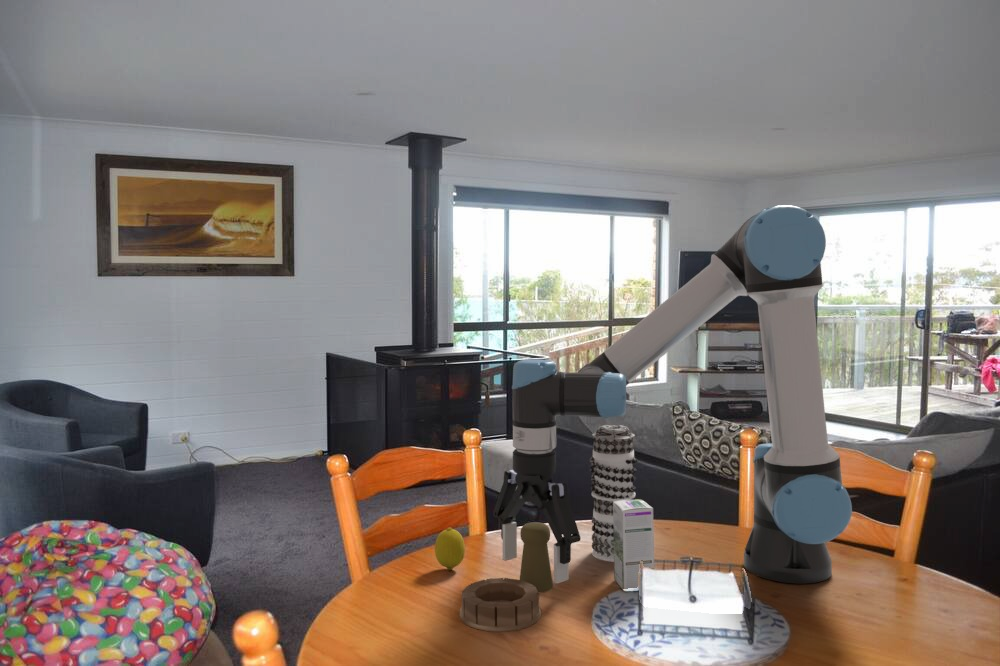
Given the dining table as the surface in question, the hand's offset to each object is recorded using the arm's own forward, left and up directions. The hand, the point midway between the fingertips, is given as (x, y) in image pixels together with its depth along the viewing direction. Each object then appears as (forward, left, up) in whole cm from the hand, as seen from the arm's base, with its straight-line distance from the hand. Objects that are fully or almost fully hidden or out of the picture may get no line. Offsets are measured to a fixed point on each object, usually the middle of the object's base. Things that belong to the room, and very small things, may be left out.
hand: (534, 569), depth 136 cm
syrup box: (-11, -13, -3) cm, 18 cm away
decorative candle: (+2, -22, -3) cm, 22 cm away
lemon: (+16, +7, -3) cm, 17 cm away
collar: (-5, +12, -3) cm, 13 cm away
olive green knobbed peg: (0, 0, -3) cm, 3 cm away
